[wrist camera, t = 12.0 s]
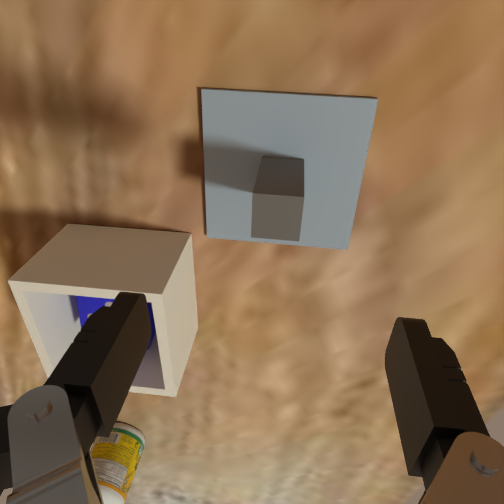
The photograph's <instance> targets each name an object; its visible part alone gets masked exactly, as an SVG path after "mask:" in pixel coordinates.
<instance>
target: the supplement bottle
mask: <svg viewBox="0 0 504 504" xmlns="http://www.w3.org/2000/svg"><path fill="white" fill-rule="evenodd" d="M144 446H145V440H144V436H143V434H142V433H141V432H140V431H139V430H138V429H136V428H134V427H133V426H130V425H128V424H124V423H116V422H115V424H114V426H113V429H112V431H111V433H110V436H109V438H107V437H99V436H97V438H96V440H95V442H94V444H93V446H92V448H91V450H90V452H91V455H92V459H93V463H94V467H95V471H96V475H97V479H98V483H99V487H100V491H101V495H102V499H103V503H104V504H124V502H125V499H126V497H127V494H128V491H129V488H130V485H131V482H132V480H133V477H134V474H135V471H136V469H137V466H138V463H139V460H140V457H141V454H142V452H143V449H144Z"/></svg>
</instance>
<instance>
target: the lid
mask: <svg viewBox="0 0 504 504" xmlns="http://www.w3.org/2000/svg"><path fill="white" fill-rule="evenodd" d="M201 95H202V121H203V147H204V173H205V198H206V224H207V238H217V239H229V240H241V241H252V242H264V243H275V244H287V245H298V246H310V247H321V248H333V249H345V250H348V245H349V240H350V235H351V230H352V225H353V221H354V216H355V211H356V206H357V201H358V196H359V191H360V186H361V181H362V176H363V171H364V167H365V162H366V157H367V152H368V147H369V142H370V137H371V132H372V127H373V122H374V118H375V113H376V108H377V103H378V98H371V97H353V96H335V95H317V94H300V93H282V92H264V91H246V90H229V89H211V88H202V89H201Z"/></svg>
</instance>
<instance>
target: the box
mask: <svg viewBox="0 0 504 504" xmlns="http://www.w3.org/2000/svg"><path fill="white" fill-rule="evenodd" d="M8 283H9V285H10V288H11V290H12V292H13V295H14V297H15V300H16V302H17V305H18V307H19V309H20V312H21V314H22V317H23V319H24V322H25V324H26V326H27V329H28V331H29V334H30V336H31V339H32V341H33V343H34V346H35V348H36V351H37V353H38V355H39V358H40V360H41V363H42V365H43V368H44V370H45V372H46V375H47V377H48V378H49V377H50V375H51V374H52V372H53V370H54V369H55V367H56V366H57V364H58V363H59V361H60V360H61V358H62V357H63V355H64V354H65V352H66V351H67V349H68V348H69V346H70V345H71V343H73V342H74V338H75V337H76V335H77V334H78V332H80V331H81V325H80V319H79V312H78V306H77V300H76V296H86V297H97V298H108V299H115V298H116V296H117V295H118V293H119V292H133V293H143V294H145V296H146V300H147V302H151V303H152V309H153V315H154V322H155V328H156V334H155V336H154V339H153V341H152V343H151V345H150V348H149V349H148V350H147V351H146V353H145V355H144V357H143V360H142V362H141V364H140V367H139V369H138V371H137V374H136V376H135V378H134V380H133V383H132V385H131V387H130V390H129V392H136V393H145V394H154V395H163V396H171V397H176V395H177V392H178V389H179V386H180V383H181V379H182V376H183V373H184V370H185V367H186V364H187V361H188V358H189V354H190V351H191V348H192V345H193V342H194V339H195V336H196V333H197V330H198V317H197V303H196V290H195V276H194V262H193V249H192V235H191V233H183V232H170V231H157V230H144V229H131V228H118V227H106V226H93V225H80V224H67V225H66V226H65V227H64V228H63V229H62V230H60V231H59V232H58V233H57V234H56V235H55V236H54V237H53V238H52V239H51V240H50V241H49V242H48V243H47V244H46V245H45V246H43V247H42V248H41V249H40V250H39V251H38V252H37V253H36V254H35V255H34V256H33V257H32V258H31V259H30V260H29V261H28V262H26V263H25V264H24V265H23V266H22V267H21V268H20V269H19V270H18V271H17V272H16V273H15V274H14V275H13V276H12V277H10V278H9V279H8Z"/></svg>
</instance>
